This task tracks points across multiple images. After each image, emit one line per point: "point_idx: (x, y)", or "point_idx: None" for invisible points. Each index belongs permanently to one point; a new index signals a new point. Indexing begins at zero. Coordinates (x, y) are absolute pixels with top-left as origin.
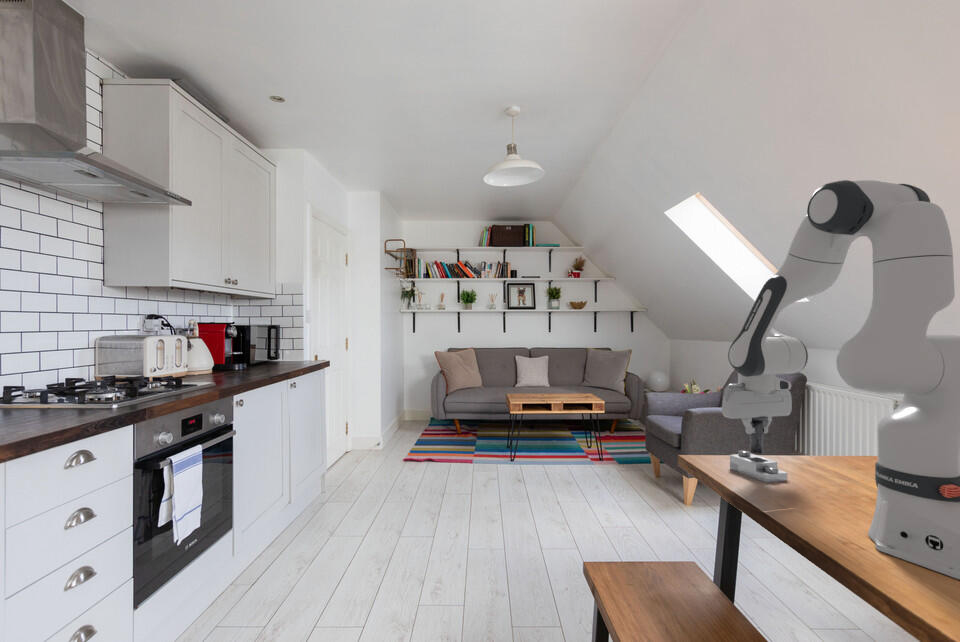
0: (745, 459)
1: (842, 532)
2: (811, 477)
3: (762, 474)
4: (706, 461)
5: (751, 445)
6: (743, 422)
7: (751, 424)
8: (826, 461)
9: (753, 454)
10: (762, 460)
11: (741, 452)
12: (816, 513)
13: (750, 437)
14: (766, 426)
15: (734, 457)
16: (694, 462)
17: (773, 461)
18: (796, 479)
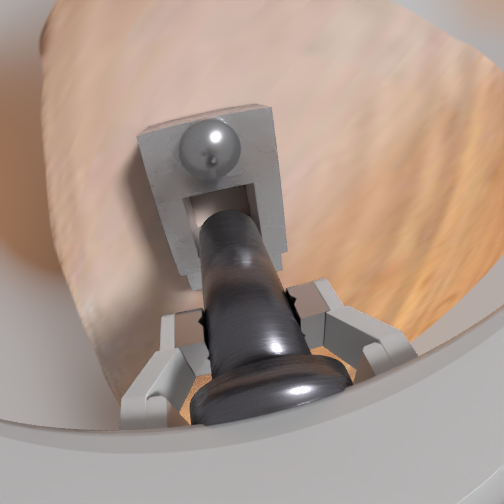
0: (170, 216)
1: (185, 419)
2: (370, 222)
3: (188, 280)
4: (119, 13)
5: (200, 259)
6: (135, 390)
7: (211, 369)
8: (493, 113)
9: (271, 131)
10: (256, 207)
11: (185, 162)
12: (192, 392)
13: (203, 279)
14: (326, 346)
15: (145, 164)
16: (62, 37)
17: (277, 246)
18: (316, 238)
